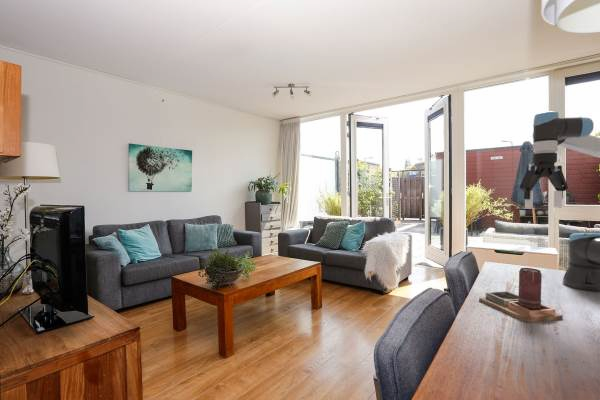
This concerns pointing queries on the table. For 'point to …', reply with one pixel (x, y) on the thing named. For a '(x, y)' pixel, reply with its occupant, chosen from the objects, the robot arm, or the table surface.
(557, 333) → the table surface
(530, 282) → the can
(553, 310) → the board
